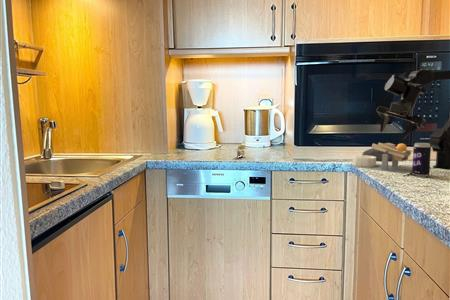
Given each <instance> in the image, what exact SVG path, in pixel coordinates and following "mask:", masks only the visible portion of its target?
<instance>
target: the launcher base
mask: <svg viewBox="0 0 450 300" xmlns="http://www.w3.org/2000/svg"><path fill="white" fill-rule="evenodd" d="M388 156H389V155H387V154H382V161H381V164H380V163H376V166H374V167H360V166H354V165H353V163H351V164H346V165H345V166H346V167H351V168H360V169H364V170H365V169H367V170H374V171H382V172H387V173H389V172H390V173H396V174H402V177H406V176H409V175H414V174H413V173H412V167H408V166H407V167H406V166H399V160H396V159H394V155H392V161H391V164H389V161H388Z"/></svg>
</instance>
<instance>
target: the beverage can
mask: <svg viewBox="0 0 450 300" xmlns="http://www.w3.org/2000/svg"><path fill="white" fill-rule="evenodd" d="M412 150H413V151H412V167H411V168H412V171H411V173H413V174H412V175H414V176H415V177H423V178H425V177H427V176H428V175H430V169H431V155H432V154H431V153H432V147H431V145H430V142H429V143H428V142H414V145H413V149H412Z"/></svg>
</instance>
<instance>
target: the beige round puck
mask: <svg viewBox="0 0 450 300" xmlns="http://www.w3.org/2000/svg"><path fill="white" fill-rule="evenodd" d="M352 164H353V165H354V166H360V167H374V166H376V164H377V161H376V157H374V156H367V155H362V154H361V155H360V154H359V155H358V154H357V155H353V156H352Z"/></svg>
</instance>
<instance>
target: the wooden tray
mask: <svg viewBox="0 0 450 300" xmlns="http://www.w3.org/2000/svg"><path fill="white" fill-rule="evenodd" d="M396 148H397V146H396V144H394V143H391V142H385V143H382V142H378V143H377V144H376V143H372V145H371V149H376V150H380V151H383V152H385V153H389V154H392V155H394V159H396V160H398V162H399V161H400V162H403V161H408V160H409V157H411V155H412V152H413V151H412V150H413V149H407V150H404V151H402V152H400V151H397V149H396Z"/></svg>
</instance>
